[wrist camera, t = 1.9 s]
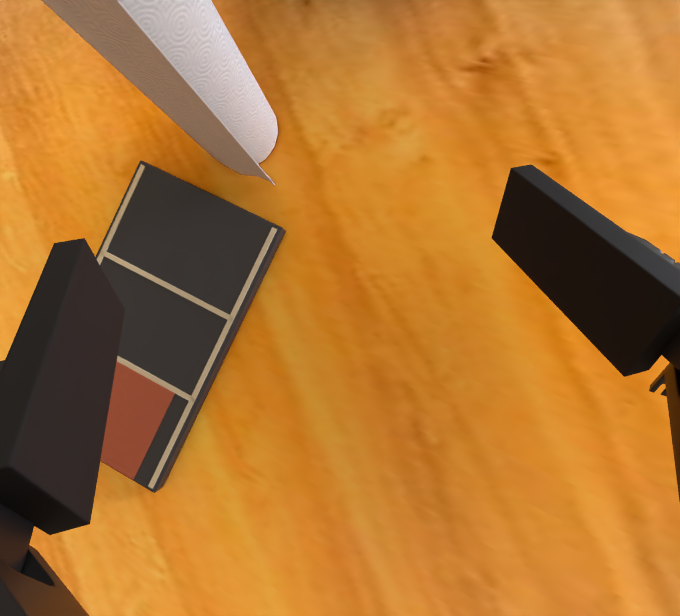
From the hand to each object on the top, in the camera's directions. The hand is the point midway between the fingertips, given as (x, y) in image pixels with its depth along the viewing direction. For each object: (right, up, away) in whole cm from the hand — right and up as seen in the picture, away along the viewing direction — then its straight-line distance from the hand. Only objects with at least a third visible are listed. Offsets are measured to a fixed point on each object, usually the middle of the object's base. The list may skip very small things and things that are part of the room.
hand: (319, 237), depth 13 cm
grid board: (-14, -4, +20) cm, 25 cm away
